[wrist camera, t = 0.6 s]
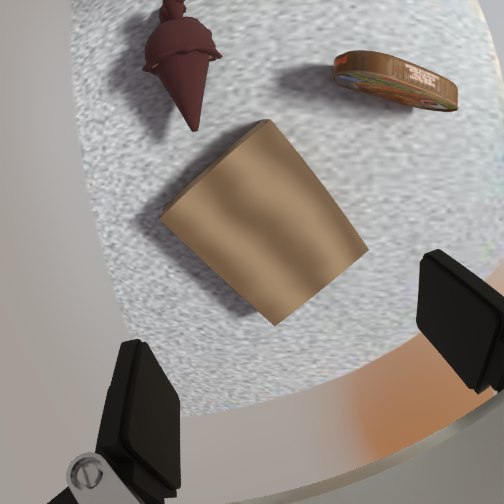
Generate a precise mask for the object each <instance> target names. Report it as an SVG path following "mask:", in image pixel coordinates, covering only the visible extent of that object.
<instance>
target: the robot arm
mask: <svg viewBox="0 0 504 504" xmlns="http://www.w3.org/2000/svg"><path fill="white" fill-rule="evenodd" d="M416 323H417V326H418V328H419V330H420V331H421V332H422V333H423V334H424V335H425V337H426V338H427V339H428V340H429V341H430V342H431V343H432V345H433V346H434V347H435V348H436V349H437V350H438V352H439V353H440V354H441V355H442V356H443V358H444V359H445V360H446V361H447V362H448V364H449V365H450V366H451V367H452V368H453V369H454V371H455V372H456V373H457V374H458V376H459V377H460V378H461V379H462V380H463V382H464V383H465V384H466V386H467V387H468V388H469V389H474V390H475V392H476V393H477V394H479V393H481V392H483V391H484V390H486V389H487V388H488V387H489V386H491V387H492V388H493V397H492V398H491V399H489V400H488V401H486V402H485V403H483V404H482V405H480V406H479V407H478V408H476V409H474V410H473V411H471V412H469V413H468V414H466V415H465V416H463V417H462V418H460V419H458V420H457V421H455V422H453V423H452V424H450V425H448V426H446V427H445V428H443V429H441V430H439V431H437V432H436V433H434V434H432V435H430V436H428V437H426V438H424V439H422V440H420V441H419V442H417V443H415V444H413V445H410V446H409V447H407V448H404V449H402V450H400V451H398V452H396V453H394V454H391V455H389V456H387V457H385V458H382V459H380V460H378V461H375V462H373V463H370V464H368V465H365V466H363V467H360V468H358V469H355V470H352V471H350V472H347V473H344V474H342V475H339V476H336V477H333V478H330V479H327V480H323V481H321V482H317V483H314V484H310V485H307V486H304V487H300V488H296V489H293V490H289V491H285V492H281V493H277V494H273V495H269V496H264V497H259V498H254V499H249V500H243V501H238V502H232V503H226V504H504V297H503V296H502V295H501V294H499V292H497V291H496V290H495V289H493V288H492V287H491V286H490V285H488V284H487V283H486V282H484V281H483V280H482V279H480V278H479V277H478V276H476V275H475V274H474V273H472V272H471V271H470V270H468V269H467V268H466V267H464V266H463V265H461V264H460V263H459V262H457V261H456V260H454V259H453V258H452V257H450V256H449V255H447V254H446V253H445V252H443V251H442V250H440V249H436V250H433V251H431V252H428V253H425V254H424V256H423V259H422V260H421V261H420V273H419V291H418V305H417V316H416ZM66 480H67V483H68V487H67V488H66V489H64V490H63V491H62V492H61V493H60V494H58V495H57V496H56V497H55V498H53V499H52V500H51V501H50V502H49V503H47V504H164V498H174V497H177V492H176V489H179V488H180V487H181V469H180V400H179V397H178V394H177V393H176V391H175V389H174V388H173V386H172V385H171V383H170V381H169V380H168V378H167V376H166V375H165V373H164V371H163V370H162V368H161V366H160V365H159V363H158V361H157V359H156V358H155V356H154V354H153V352H152V351H151V349H150V347H149V345H148V344H147V343H146V342H142V341H141V340H140V339H134V340H130V341H125V342H122V344H121V346H120V350H119V354H118V357H117V362H116V366H115V369H114V373H113V377H112V381H111V385H110V386H109V389H108V392H107V396H106V401H105V405H104V410H103V414H102V419H101V424H100V429H99V434H98V439H97V444H96V450H95V453H89V452H88V453H84V454H81V455H79V456H78V457H76V458H75V459H74V460H73V461H72V462H71V464H70V465H69V467H68V470H67V473H66Z"/></svg>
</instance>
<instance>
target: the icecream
mask: <svg viewBox="0 0 504 504" xmlns="http://www.w3.org/2000/svg"><path fill="white" fill-rule="evenodd" d="M184 1H185V0H163V5H162V7H161V8H160V13H159V18H160V21H161V24H160V25H159V26H158V27H157V28H156V29H155V30H154V32H153V33H152V34H151V36H150V37H149V38H148V41H147V43H146V46H145V60H146V62H147V63H146V64H145V66H144V67H143V69H142V70H143V71H145V72H150V73H152V74H154V75H158V76H159V78H160V79H161V81H162V83H163V84H164V86H165V88H166V89H167V91H168V92H169V94H170V96H171V97H172V99H173V101H174V102H175V104H176V106H177V107H178V109H179V111H180V112H181V114H182V116H183V117H184V119H185V121H186V122H187V124H188V126H189V127H190V129H191V131H192V132H196V131H198V128H199V122H200V115H201V108H202V101H203V95H204V89H205V83H206V77H207V71H208V66H209V62H210V61H215V60H216V59H221V58H222V57H223V56H222V55H221V54H220V53H219V52H218V51H217V50H216V49H215V43H214V42H213V40H212V38H211V37H212V32H211V31H210V30H209V29H207V28H206V27H205V26H204V25H203V24H201V23H200V22H199V21H198V20H197V19H195V18H193V17H183V13H185V12H186V7H185V5H184V4H183V2H184Z"/></svg>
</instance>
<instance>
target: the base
mask: <svg viewBox="0 0 504 504" xmlns="http://www.w3.org/2000/svg"><path fill="white" fill-rule="evenodd" d="M159 219H160V220H161V221H162V222H163V223H164V224H165V225H166V226H167V227H168V228H169V229H170V230H171V231H172V232H173V233H174V234H175V235H176V236H177V237H178V238H179V239H181V240H182V241H183V242H184V243H185V244H186V245H187V246H188V247H189V248H190V249H191V250H192V251H193V252H194V253H195V254H196V255H197V256H198V257H200V258H201V259H202V260H203V261H204V262H205V263H206V264H207V265H208V266H209V267H210V268H211V269H212V270H213V271H215V272H216V273H217V274H218V275H219V276H220V277H221V278H222V279H223V280H224V281H225V282H226V283H227V284H229V285H230V286H231V287H232V288H233V289H234V290H235V291H236V292H237V293H238V294H240V295H241V296H242V297H243V298H244V299H245V300H246V301H247V302H248V303H249V304H251V305H252V306H253V307H254V308H255V309H256V310H257V311H258V312H259V313H261V314H262V315H263V316H264V317H265V318H266V319H267V320H268V321H269V322H271V323H272V324H273V325H274V326H276V325H277V324H278V323H280V322H281V321H282V320H284V319H285V318H286V317H287V316H289V315H290V314H291V313H293V312H294V311H295V310H296V309H298V308H299V307H300V306H302V305H303V304H304V303H305V302H307V301H308V300H309V299H310V298H312V297H313V296H314V295H315V294H317V293H318V292H319V291H320V290H322V289H323V288H324V287H325V286H326V285H328V284H329V283H330V282H331V281H333V280H334V279H335V278H336V277H337V276H339V275H340V274H341V273H342V272H343V271H345V270H346V269H347V268H348V267H349V266H351V265H352V264H353V263H354V262H355V261H356V260H358V259H359V258H360V257H361V256H362V255H363V254H365V253H366V252H367V251H368V250H369V249H368V248H367V246H366V245H365V243H364V242H363V240H362V239H361V238H360V236H359V235H358V233H357V232H356V230H355V229H354V227H353V226H352V225H351V223H350V222H349V220H348V219H347V217H346V216H345V215H344V213H343V212H342V210H341V209H340V208H339V206H338V205H337V203H336V202H335V201H334V199H333V198H332V197H331V195H330V194H329V193H328V191H327V190H326V189H325V187H324V186H323V185H322V183H321V182H320V181H319V179H318V178H317V177H316V175H315V174H314V173H313V171H312V170H311V169H310V168H309V166H308V165H307V164H306V162H305V161H304V160H303V159H302V157H301V156H300V155H299V154H298V152H297V151H296V150H295V149H294V147H293V146H292V145H291V144H290V142H289V141H288V140H287V139H286V137H285V136H284V135H283V134H282V133H281V131H280V130H279V129H278V128H277V127H276V125H275V124H274V123H273V122H272V121H271V120H269V119H263V120H261V121H260V122H259V123H258V124H256V125H255V126H254V127H253V128H252V129H250V130H249V131H248V132H247V133H246V134H244V135H243V136H242V137H241V138H240V139H239V140H237V141H236V142H235V143H234V144H233V145H232V146H230V147H229V148H228V149H227V150H226V151H225V152H223V153H222V154H221V155H220V156H219V157H218V158H217V159H216V160H214V161H213V162H212V163H211V164H210V165H209V166H208V167H207V168H205V169H204V170H203V171H202V172H201V173H200V174H199V175H198V176H197V177H196V178H195V179H193V180H192V181H191V182H190V183H189V184H188V185H187V186H186V187H185V188H184V189H183V190H182V191H181V192H180V193H179V194H177V195H176V196H175V197H174V198H173V199H172V200H171V201H170V202H169V203H168V204H167V205H166V206H165V207H164V208H163V211H162V213H161V216H160V218H159Z"/></svg>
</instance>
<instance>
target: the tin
mask: <svg viewBox="0 0 504 504" xmlns="http://www.w3.org/2000/svg"><path fill="white" fill-rule="evenodd" d="M332 80H333V81H334V82H335V83H337V84H339V85H341V86H343V87H346V88H350V89H353V90H357V91H361V92H364V93H368V94H372V95H375V96H379V97H382V98H386V99H389V100H392V101H395V102H398V103H401V104H405V105H408V106H412V107H416V108H421V109H426V110H432V111H442V112H453V111H457V110H458V106H457V104H458V89H457V87H456V85H455V84H454V83H453V82H451V81H450V80H448V79H446V78H444V77H442V76H440V75H438V74H436V73H434V72H432V71H429V70H427V69H425V68H422V67H420V66H418V65H415V64H413V63H410V62H407V61H405V60H402V59H400V58H397V57H394V56H391V55H388V54H384V53H379V52H374V51H364V50H358V51H349V52H346V53H344V54H341V55H339V56H337V57H336V58H335V61H334V71H333V76H332Z"/></svg>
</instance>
